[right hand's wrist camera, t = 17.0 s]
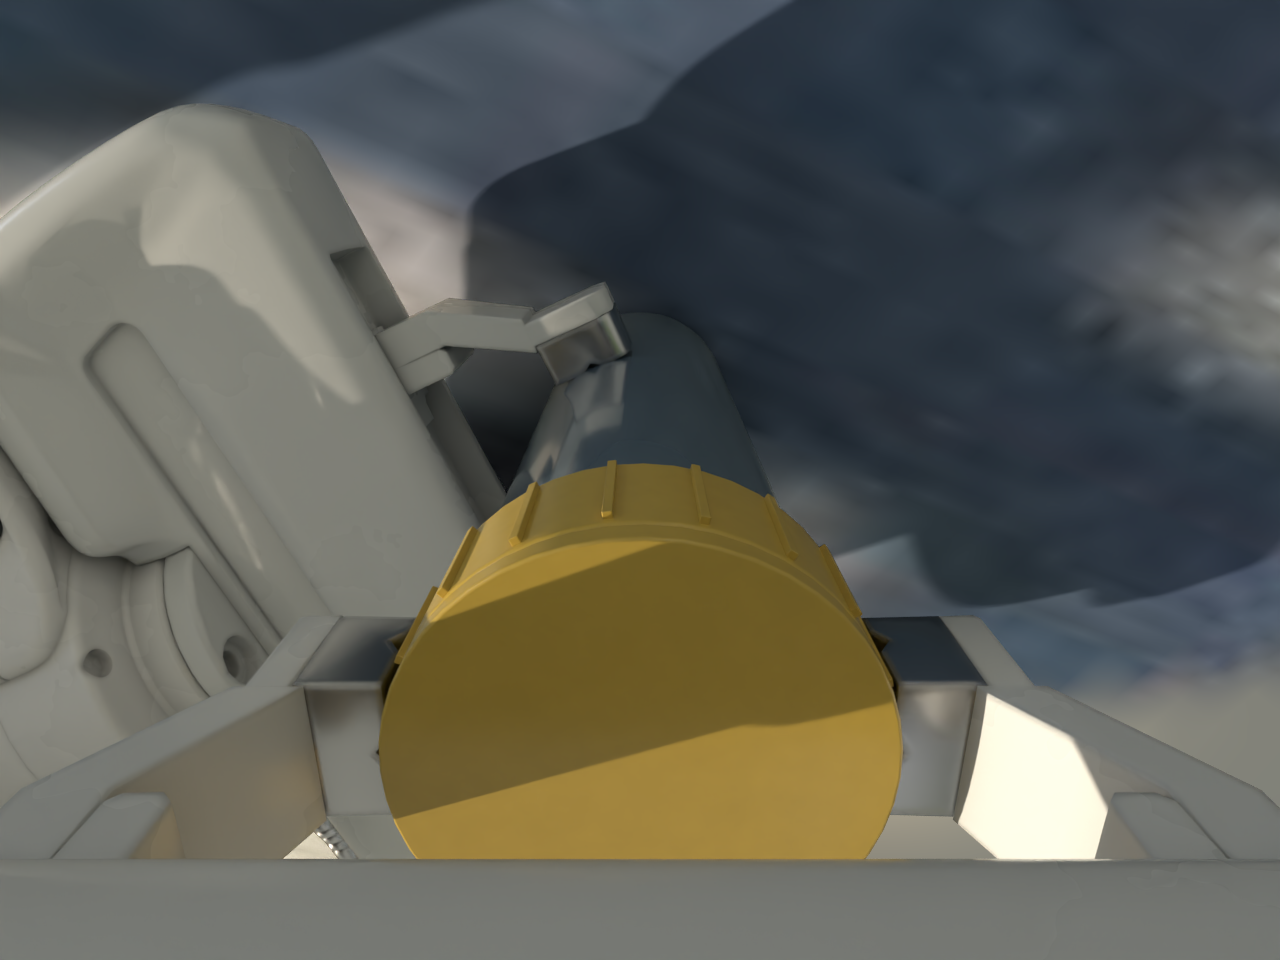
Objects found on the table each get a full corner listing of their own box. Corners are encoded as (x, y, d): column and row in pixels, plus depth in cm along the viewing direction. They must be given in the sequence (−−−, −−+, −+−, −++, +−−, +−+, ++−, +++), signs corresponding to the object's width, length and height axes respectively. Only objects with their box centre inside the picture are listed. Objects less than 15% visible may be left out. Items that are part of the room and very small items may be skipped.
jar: (677, 496, 24) (730, 946, 10) (533, 431, 24) (364, 815, 9) (751, 357, 23) (944, 649, 8) (600, 282, 22) (523, 462, 8)
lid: (935, 693, 10) (1007, 816, 8) (601, 884, 12) (592, 1032, 10) (693, 362, 9) (708, 414, 7) (334, 623, 10) (255, 734, 8)
